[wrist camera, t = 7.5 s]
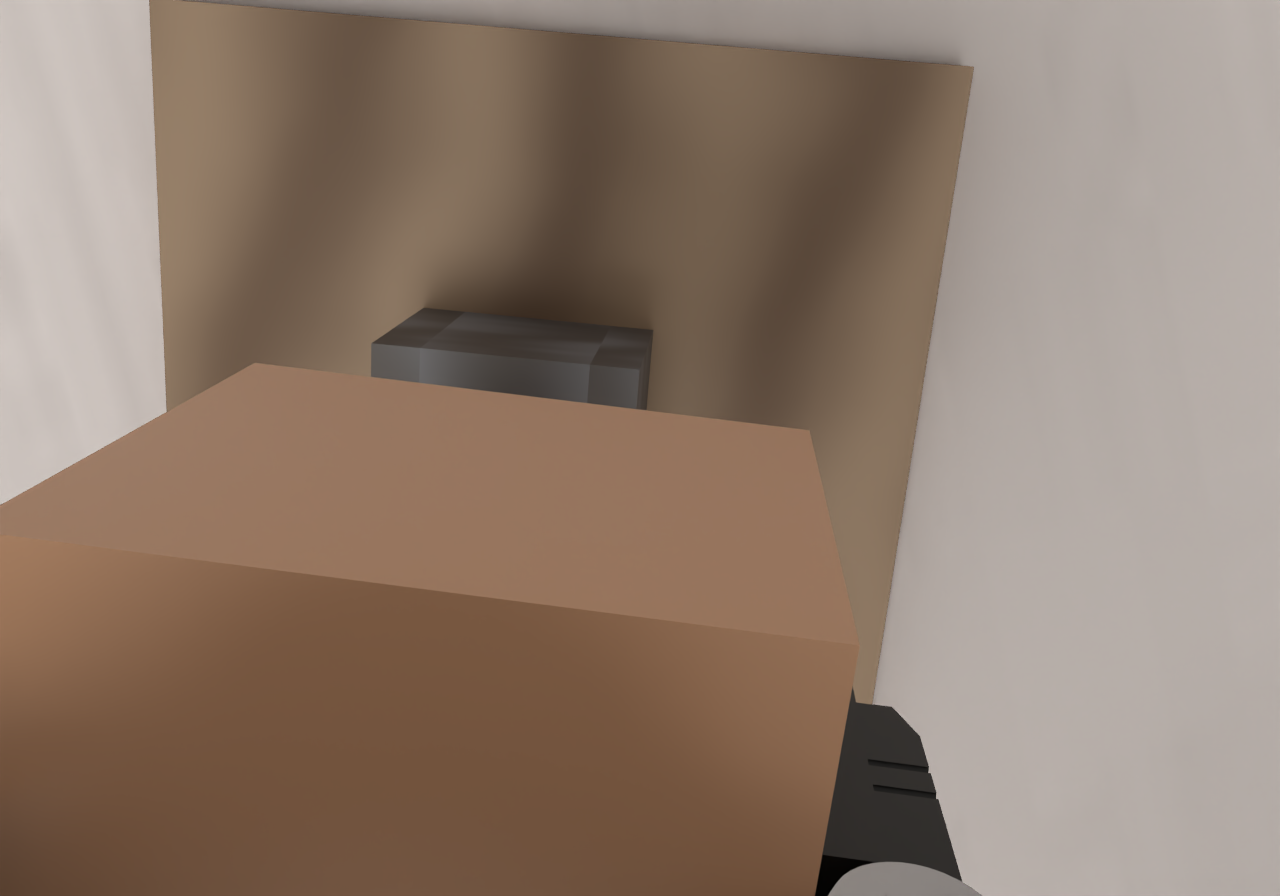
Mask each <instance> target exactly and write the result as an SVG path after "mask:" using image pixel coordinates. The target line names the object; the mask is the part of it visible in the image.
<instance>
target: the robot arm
mask: <svg viewBox="0 0 1280 896" xmlns="http://www.w3.org/2000/svg"><path fill="white" fill-rule="evenodd" d="M928 769H929V766H928V763H927V759H926V756H925V752H924V749H923V746H922V742H921V739H920V736H919V735H918V734H917V733H916V732H915V731H914V730H913V729H912V728H911V727H910V726H909V724H908V723H907V722H906V721H905V720H904V719H903V718H902V717H901V716H900V715H899V714H898V713H897V712H896V711H895V710H894V709H893V708H892V707H887V706H880V705H872V704H865V703H857V702H856V700H855V695H854V690H853V686H852V692H851V698H850V703H849V709H848V714H847V720H846V725H845V731H844V736H843V742H842V748H841V753H840V759H839V764H838V770H837V775H836V781H835V787H834V792H833V798H832V803H831V809H830V814H829V820H828V825H827V831H826V837H825V842H824V848H823V853H822V859H821V864H820V870H819V876H818V881H817V887H816V892H815V896H982V895H981V894H979V893H978V892H977V891H975V890H974V889H973V888H971V887H970V886H968V885H966V884H965V883H963V882H962V879H961V876H960V872H959V869H958V865H957V862H956V859H955V855H954V852H953V848H952V845H951V841H950V838H949V835H948V831H947V828H946V824H945V821H944V817H943V814H942V811H941V807H940V804H939V800H938V799H936V790H935V787H934V783H933V780H932V776H931V773H928Z"/></svg>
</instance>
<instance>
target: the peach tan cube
mask: <svg viewBox="0 0 1280 896" xmlns="http://www.w3.org/2000/svg"><path fill="white" fill-rule="evenodd" d="M859 647H860V644H859V640H858V635H857V631H856V627H855V623H854V618H853V614H852V610H851V605H850V601H849V597H848V593H847V588H846V584H845V580H844V576H843V571H842V567H841V563H840V558H839V554H838V550H837V546H836V541H835V537H834V533H833V529H832V524H831V520H830V516H829V511H828V507H827V503H826V499H825V494H824V490H823V486H822V482H821V477H820V473H819V469H818V464H817V460H816V456H815V452H814V447H813V443H812V439H811V435H810V430H803V429H795V428H787V427H779V426H770V425H762V424H754V423H746V422H737V421H729V420H721V419H713V418H705V417H696V416H688V415H680V414H672V413H663V412H655V411H647V410H639V409H631V408H622V407H614V406H606V405H598V404H590V403H581V402H573V401H565V400H557V399H548V398H540V397H532V396H524V395H516V394H507V393H499V392H491V391H483V390H474V389H466V388H458V387H450V386H442V385H433V384H425V383H417V382H409V381H400V380H392V379H384V378H376V377H368V376H359V375H351V374H343V373H335V372H327V371H318V370H310V369H302V368H294V367H285V366H277V365H269V364H261V363H253V364H252V365H250V366H248V367H246V368H244V369H243V370H241V371H239V372H237V373H236V374H234V375H232V376H230V377H228V378H227V379H225V380H223V381H221V382H219V383H218V384H216V385H214V386H212V387H211V388H209V389H207V390H205V391H203V392H202V393H200V394H198V395H196V396H195V397H193V398H191V399H189V400H187V401H186V402H184V403H182V404H180V405H178V406H177V407H175V408H173V409H171V410H170V411H168V412H166V413H164V414H162V415H161V416H159V417H157V418H155V419H153V420H152V421H150V422H148V423H146V424H145V425H143V426H141V427H139V428H137V429H136V430H134V431H132V432H130V433H128V434H127V435H125V436H123V437H121V438H120V439H118V440H116V441H114V442H112V443H111V444H109V445H107V446H105V447H103V448H102V449H100V450H98V451H96V452H95V453H93V454H91V455H89V456H87V457H86V458H84V459H82V460H80V461H78V462H77V463H75V464H73V465H71V466H70V467H68V468H66V469H64V470H62V471H61V472H59V473H57V474H55V475H53V476H52V477H50V478H48V479H46V480H45V481H43V482H41V483H39V484H37V485H36V486H34V487H32V488H30V489H28V490H27V491H25V492H23V493H21V494H20V495H18V496H16V497H14V498H12V499H11V500H9V501H7V502H5V503H3V504H2V505H0V896H815V892H816V887H817V881H818V876H819V870H820V864H821V859H822V853H823V848H824V842H825V837H826V831H827V825H828V820H829V814H830V809H831V803H832V798H833V792H834V787H835V781H836V775H837V770H838V764H839V759H840V753H841V748H842V742H843V736H844V731H845V725H846V720H847V714H848V709H849V703H850V698H851V692H852V686H853V681H854V675H855V670H856V664H857V659H858V653H859Z"/></svg>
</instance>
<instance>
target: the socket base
mask: <svg viewBox="0 0 1280 896" xmlns="http://www.w3.org/2000/svg"><path fill="white" fill-rule="evenodd" d="M149 6H150V29H151V53H152V76H153V100H154V123H155V147H156V170H157V194H158V217H159V241H160V264H161V288H162V311H163V335H164V358H165V382H166V405H167V412H168V411H170V410H171V409H173V408H175V407H177V406H178V405H180V404H182V403H184V402H186V401H187V400H189V399H191V398H193V397H195V396H196V395H198V394H200V393H202V392H203V391H205V390H207V389H209V388H211V387H212V386H214V385H216V384H218V383H219V382H221V381H223V380H225V379H227V378H228V377H230V376H232V375H234V374H236V373H237V372H239V371H241V370H243V369H244V368H246V367H248V366H250V365H252V364H253V363H261V364H269V365H277V366H285V367H294V368H302V369H310V370H318V371H327V372H335V373H343V374H351V375H359V376H368V377H376V378H384V379H392V380H400V381H409V382H417V383H425V384H433V385H442V386H450V387H458V388H466V389H474V390H483V391H491V392H499V393H507V394H516V395H524V396H532V397H540V398H548V399H557V400H565V401H573V402H581V403H590V404H598V405H606V406H614V407H622V408H631V409H639V410H647V411H655V412H663V413H672V414H680V415H688V416H696V417H705V418H713V419H721V420H729V421H737V422H746V423H754V424H762V425H770V426H779V427H787V428H795V429H803V430H810V435H811V439H812V443H813V447H814V452H815V456H816V460H817V464H818V469H819V473H820V477H821V482H822V486H823V490H824V494H825V499H826V503H827V507H828V511H829V516H830V520H831V524H832V529H833V533H834V537H835V541H836V546H837V550H838V554H839V558H840V563H841V567H842V571H843V576H844V580H845V584H846V588H847V593H848V597H849V601H850V605H851V610H852V614H853V618H854V623H855V627H856V631H857V635H858V640H859V644H860V647H859V653H858V659H857V664H856V670H855V675H854V681H853V690H854V695H855V700H856V702H857V703H865V704H872V701H873V695H874V689H875V682H876V676H877V670H878V664H879V657H880V651H881V645H882V639H883V632H884V626H885V620H886V614H887V607H888V601H889V595H890V589H891V582H892V576H893V570H894V564H895V557H896V551H897V545H898V539H899V532H900V526H901V520H902V514H903V507H904V501H905V495H906V489H907V482H908V476H909V470H910V463H911V457H912V451H913V445H914V438H915V432H916V426H917V420H918V413H919V407H920V401H921V395H922V388H923V382H924V376H925V370H926V363H927V357H928V351H929V345H930V338H931V332H932V326H933V320H934V313H935V307H936V301H937V295H938V288H939V282H940V276H941V270H942V263H943V257H944V251H945V245H946V238H947V232H948V226H949V220H950V213H951V207H952V201H953V195H954V188H955V182H956V176H957V170H958V163H959V157H960V151H961V145H962V138H963V132H964V126H965V120H966V113H967V107H968V101H969V95H970V88H971V82H972V76H973V70H974V67H970V66H958V65H946V64H934V63H922V62H910V61H898V60H886V59H874V58H863V57H851V56H839V55H827V54H815V53H803V52H791V51H779V50H767V49H755V48H743V47H731V46H719V45H707V44H695V43H683V42H671V41H659V40H647V39H635V38H623V37H611V36H599V35H587V34H575V33H563V32H551V31H539V30H527V29H515V28H504V27H492V26H480V25H468V24H456V23H444V22H432V21H420V20H408V19H396V18H384V17H372V16H360V15H348V14H336V13H324V12H312V11H300V10H288V9H276V8H264V7H252V6H240V5H228V4H216V3H204V2H192V1H180V0H149Z"/></svg>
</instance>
